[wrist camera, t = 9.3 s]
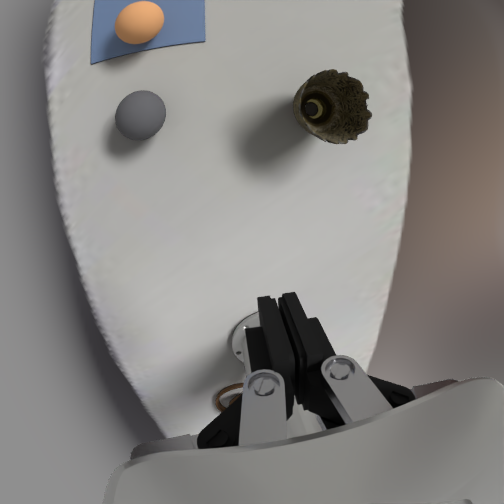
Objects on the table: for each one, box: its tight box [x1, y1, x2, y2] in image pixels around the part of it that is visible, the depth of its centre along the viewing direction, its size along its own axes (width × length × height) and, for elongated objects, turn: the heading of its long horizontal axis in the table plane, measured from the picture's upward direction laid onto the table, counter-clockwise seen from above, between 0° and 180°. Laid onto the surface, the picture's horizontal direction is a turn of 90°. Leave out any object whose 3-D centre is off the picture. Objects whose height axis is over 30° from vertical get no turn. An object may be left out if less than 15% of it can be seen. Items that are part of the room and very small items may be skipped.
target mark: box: [91, 0, 205, 64], centre depth 20 cm, size 14×14×1 cm
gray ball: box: [115, 91, 166, 140], centre depth 25 cm, size 6×6×6 cm
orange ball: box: [115, 1, 164, 44], centre depth 20 cm, size 6×6×6 cm
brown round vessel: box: [293, 69, 372, 144], centre depth 26 cm, size 8×7×8 cm
